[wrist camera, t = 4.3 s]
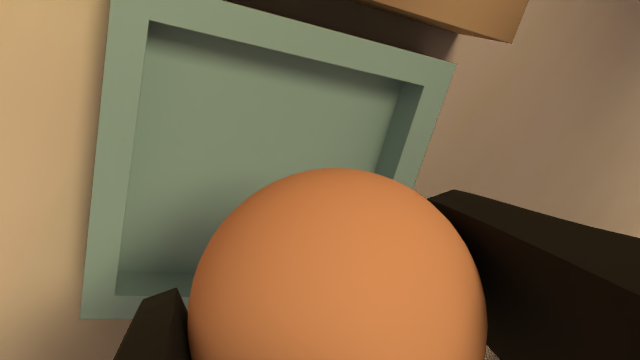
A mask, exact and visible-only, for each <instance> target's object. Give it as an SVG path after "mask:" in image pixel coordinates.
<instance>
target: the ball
mask: <svg viewBox="0 0 640 360" xmlns="http://www.w3.org/2000/svg"><path fill="white" fill-rule="evenodd" d="M187 326H188V342H189V349H190V355H191V359H192V360H484V358H485V354H486V343H487V330H488V322H487V310H486V300H485V295H484V291H483V287H482V283H481V280H480V276H479V272H478V270H477V267H476V265H475V263H474V261H473V258H472V256H471V254H470V252H469V250H468V248H467V246H466V244H465V243H464V241H463V240H462V238H461V237H460V235H459V234H458V232H457V231H456V230H455V228H454V227H453V225H452V224H451V223H450V221H449V220H448V219H447V218H446V217H445V216H444V215H443V214H442V213H441V212H440V211H439V210H438V209H437V208H436V207H435V206H434V205H433V204H431V203H430V202H429V201H428V200H426V199H425V198H424V197H422V196H421V195H419V194H418V193H417V192H415V191H413V190H412V189H410V188H409V187H407V186H405V185H403V184H401V183H399V182H397V181H395V180H393V179H390V178H387V177H385V176H382V175H379V174H375V173H372V172H369V171H363V170H356V169H348V168H323V169H314V170H309V171H305V172H301V173H296V174H293V175H290V176H288V177H285V178H282V179H280V180H277V181H275V182H273V183H271V184H269V185H267V186H265V187H263V188H262V189H260V190H259V191H257V192H256V193H254V194H253V195H251V196H250V197H248V198H247V199H246V200H245V201H244V202H243V203H241V204H240V205H239V206H238V207H237V208H236V209H234V210H233V211H232V213H231V214H230V215H229V216H228V217H227V218H226V219H225V220H224V221H223V222H222V224H221V225H220V226H219V228H218V229H217V231H216V232H215V233H214V235H213V236H212V238H211V240H210V241H209V243H208V245H207V247H206V249H205V251H204V253H203V255H202V257H201V259H200V261H199V264H198V267H197V269H196V272H195V275H194V278H193V283H192V288H191V293H190V298H189V303H188V320H187Z"/></svg>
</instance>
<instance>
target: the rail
mask: <svg viewBox="0 0 640 360" xmlns="http://www.w3.org/2000/svg"><path fill="white" fill-rule="evenodd" d="M350 1H353V2H357V3H360V4H363V5H366V6H370V7H373V8H376V9H380V10H383V11H386V12H390V13H393V14H396V15H399V16H403V17H406V18H409V19H413V20H416V21H419V22H422V23H426V24H429V25H432V26H436V27H439V28H442V29H445V30H449V31H452V32H455V33H459V34H463V35H469V36H474V37H479V38H485V39H490V40H495V41H501V42H506V43H511V44H512V42H513V39H514V37H515V34H516V32H517V29H518V26H519V24H520V21H521V19H522V16H523V14H524V11H525V8H526V6H527V3H528V1H529V0H350Z"/></svg>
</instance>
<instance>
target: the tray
mask: <svg viewBox="0 0 640 360" xmlns="http://www.w3.org/2000/svg"><path fill="white" fill-rule="evenodd" d="M456 65H457V64H455V63H451V62H448V61H445V60H441V59H438V58H434V57H431V56H427V55H424V54H420V53H417V52H413V51H409V50H406V49H402V48H398V47H395V46H391V45H387V44H383V43H380V42H376V41H372V40H369V39H365V38H361V37H358V36H354V35H350V34H347V33H343V32H339V31H336V30H332V29H328V28H325V27H321V26H317V25H314V24H310V23H306V22H302V21H299V20H295V19H291V18H288V17H284V16H280V15H277V14H273V13H269V12H266V11H262V10H258V9H255V8H251V7H247V6H244V5H240V4H236V3H233V2H229V1H225V0H111V2H110V12H109V22H108V33H107V43H106V53H105V63H104V74H103V84H102V94H101V104H100V115H99V125H98V135H97V145H96V156H95V166H94V176H93V186H92V197H91V207H90V217H89V227H88V238H87V248H86V258H85V268H84V279H83V289H82V299H81V309H80V319H133V317H134V315H135V313H136V311H137V309H138V307H139V305H140V303H141V302H142V300H143V299H145V298H148V297H151V296H153V295H156V294H159V293H162V292H165V291H168V290H170V289H173V288H176V287H177V289H178V291H179V293H180V295H181V298H182V300H183V302H184V305H185V307H186V309H187V311H188V303H189V298H190V293H191V288H192V283H193V278H194V275H195V272H196V269H197V267H198V264H199V261H200V259H201V257H202V255H203V253H204V251H205V249H206V247H207V245H208V243H209V241H210V240H211V238H212V236H213V235H214V233H215V232H216V231H217V229H218V228H219V226H220V225H221V224H222V222H223V221H224V220H225V219H226V218H227V217H228V216H229V215H230V214H231V213H232V211H233V210H234V209H236V208H237V207H238V206H239V205H240V204H241V203H243V202H244V201H245V200H246V199H247V198H248V197H250V196H251V195H253V194H254V193H256V192H257V191H259V190H260V189H262V188H263V187H265V186H267V185H269V184H271V183H273V182H275V181H277V180H280V179H282V178H285V177H288V176H290V175H293V174H296V173H301V172H305V171H309V170H314V169H323V168H348V169H356V170H363V171H369V172H372V173H375V174H379V175H382V176H385V177H387V178H390V179H393V180H395V181H397V182H399V183H401V184H403V185H405V186H407V187H409V188H410V189H412V190H413V187H414V184H415V181H416V178H417V176H418V173H419V170H420V167H421V164H422V161H423V158H424V156H425V153H426V150H427V147H428V144H429V141H430V139H431V136H432V133H433V130H434V127H435V124H436V121H437V119H438V116H439V113H440V110H441V107H442V104H443V102H444V99H445V96H446V93H447V90H448V87H449V85H450V82H451V79H452V76H453V73H454V70H455V67H456Z"/></svg>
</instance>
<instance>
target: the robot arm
mask: <svg viewBox="0 0 640 360" xmlns="http://www.w3.org/2000/svg"><path fill="white" fill-rule="evenodd" d="M427 200H428V201H429V202H430V203H431V204H433V205H434V206H435V207H436V208H437V209H438V210H439V211H440V212H441V213H442V214H443V215H444V216H445V217H446V218H447V219H448V220H449V221H450V223H451V224H452V225H453V227H454V228H455V230H456V231H457V232H458V234H459V235H460V237H461V238H462V240H463V241H464V243H465V244H466V246H467V248H468V250H469V252H470V254H471V256H472V258H473V261H474V263H475V265H476V267H477V270H478V272H479V276H480V280H481V283H482V287H483V291H484V295H485V300H486V310H487V322H488V330H487V343H486V344H487V346H488V347H489V348H490V349H491V350H492V351H493V352H494V353H495V354H496V355H497V356H498V357H499V359H500V360H640V238H636V237H632V236H628V235H623V234H619V233H615V232H611V231H606V230H602V229H598V228H594V227H590V226H586V225H582V224H578V223H574V222H570V221H567V220H563V219H559V218H556V217H552V216H549V215H545V214H541V213H538V212H534V211H531V210H527V209H524V208H521V207H517V206H514V205H510V204H507V203H503V202H500V201H496V200H493V199H489V198H486V197H482V196H479V195H475V194H471V193H467V192H463V191H458V190H450V191H448V192H445V193H442V194H439V195H436V196H433V197H431V198H428V199H427ZM187 320H188V311H187V309H186V307H185V305H184V302H183V300H182V298H181V295H180V293H179V291H178V289H177V287H176V288H173V289H170V290H168V291H165V292H162V293H159V294H156V295H153V296H151V297H148V298H145V299H143V300H142V302H141V303H140V305H139V307H138V309H137V311H136V313H135V315H134V317H133V319H132V322H131V324H130V326H129V328H128V330H127V332H126V334H125V336H124V339H123V341H122V343H121V345H120V347H119V349H118V351H117V353H116V355H115V357H114V359H113V360H192V359H191V355H190V349H189V342H188V326H187Z"/></svg>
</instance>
